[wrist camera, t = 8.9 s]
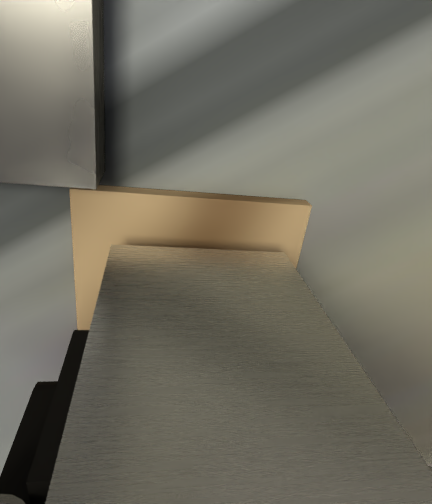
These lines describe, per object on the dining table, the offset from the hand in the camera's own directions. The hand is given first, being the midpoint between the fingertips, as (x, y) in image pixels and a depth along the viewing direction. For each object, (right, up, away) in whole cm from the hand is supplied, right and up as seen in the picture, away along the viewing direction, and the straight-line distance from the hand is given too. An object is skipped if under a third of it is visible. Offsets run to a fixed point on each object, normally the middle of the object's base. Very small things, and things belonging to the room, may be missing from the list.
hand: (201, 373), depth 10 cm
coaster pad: (-1, +2, +4) cm, 4 cm away
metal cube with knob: (0, +1, +2) cm, 3 cm away
